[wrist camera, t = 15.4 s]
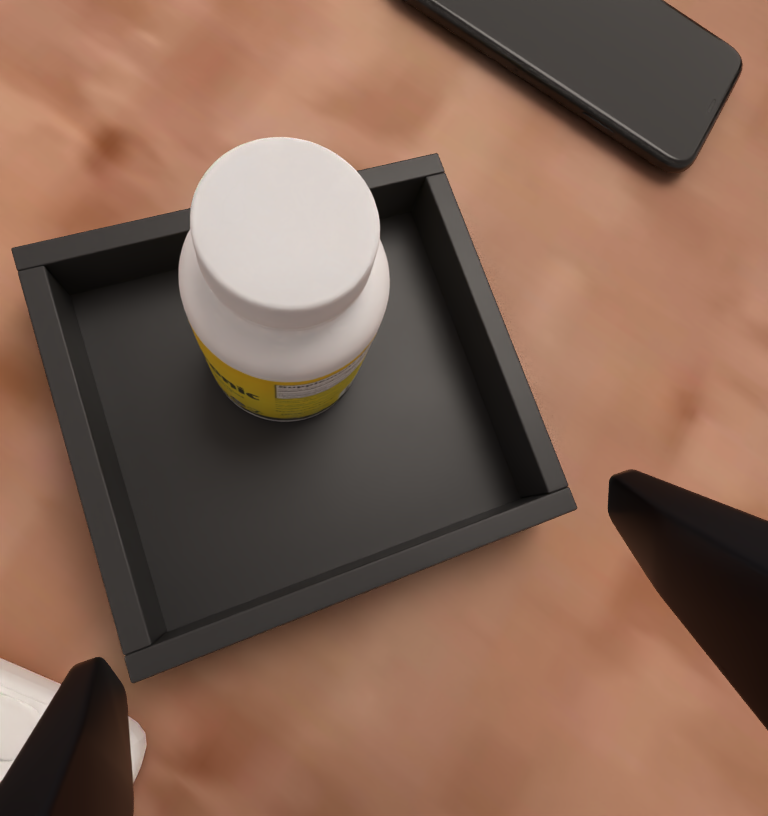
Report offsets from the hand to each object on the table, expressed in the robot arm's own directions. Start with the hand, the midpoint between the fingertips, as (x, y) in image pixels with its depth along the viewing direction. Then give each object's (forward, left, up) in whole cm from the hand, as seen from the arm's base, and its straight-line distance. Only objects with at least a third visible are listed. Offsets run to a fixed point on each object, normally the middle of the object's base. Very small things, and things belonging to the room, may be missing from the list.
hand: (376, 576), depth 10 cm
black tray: (+5, -1, -12) cm, 13 cm away
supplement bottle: (+7, -1, -11) cm, 13 cm away
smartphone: (+18, -18, -12) cm, 28 cm away
